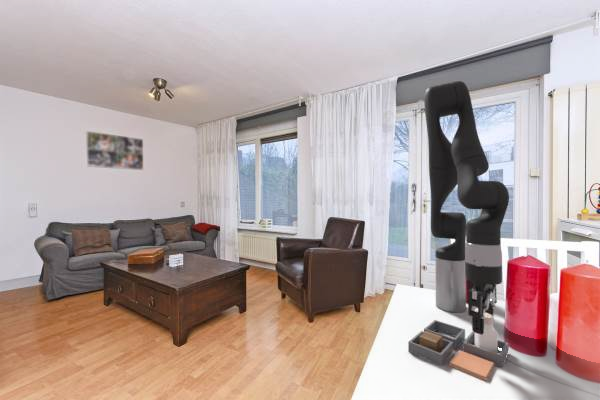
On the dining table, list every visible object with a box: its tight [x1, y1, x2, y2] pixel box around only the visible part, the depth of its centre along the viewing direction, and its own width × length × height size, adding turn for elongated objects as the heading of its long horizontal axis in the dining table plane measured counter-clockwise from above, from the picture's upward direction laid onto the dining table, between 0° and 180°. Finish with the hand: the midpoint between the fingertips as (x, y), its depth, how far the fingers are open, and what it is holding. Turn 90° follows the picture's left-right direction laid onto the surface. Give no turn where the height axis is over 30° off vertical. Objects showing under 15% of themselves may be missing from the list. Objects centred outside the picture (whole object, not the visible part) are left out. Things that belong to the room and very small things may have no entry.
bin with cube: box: [407, 330, 454, 366], centre depth 66 cm, size 8×8×2 cm
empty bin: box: [423, 319, 466, 351], centre depth 73 cm, size 8×8×2 cm
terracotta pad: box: [449, 349, 495, 382], centre depth 61 cm, size 7×7×1 cm
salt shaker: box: [474, 313, 499, 354], centre depth 66 cm, size 4×4×10 cm
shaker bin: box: [462, 331, 510, 368], centre depth 66 cm, size 8×8×2 cm
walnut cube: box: [419, 331, 443, 353], centre depth 66 cm, size 4×4×4 cm
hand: (483, 327), depth 65 cm, fingers open, 8 cm apart
